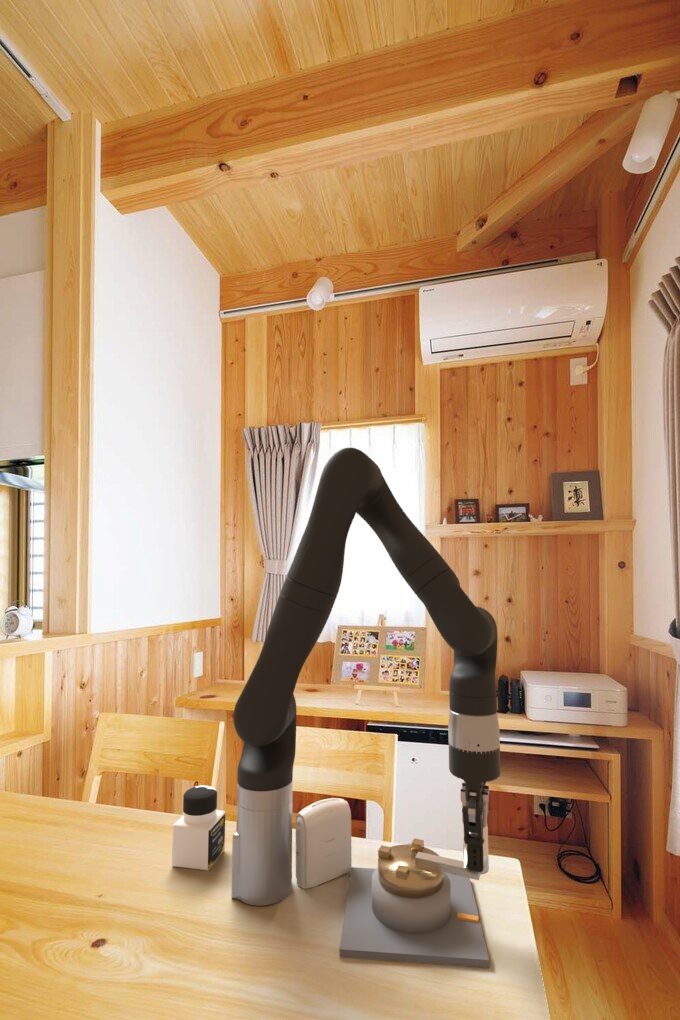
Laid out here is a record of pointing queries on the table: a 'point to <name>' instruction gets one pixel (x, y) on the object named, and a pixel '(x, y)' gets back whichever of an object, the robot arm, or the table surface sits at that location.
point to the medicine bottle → (199, 830)
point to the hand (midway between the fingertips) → (476, 861)
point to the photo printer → (323, 842)
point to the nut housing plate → (411, 946)
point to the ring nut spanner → (422, 868)
